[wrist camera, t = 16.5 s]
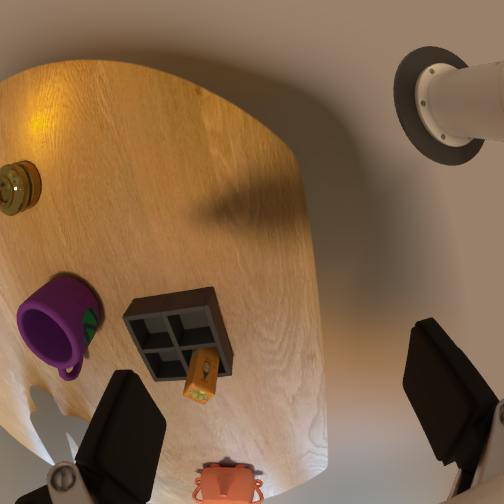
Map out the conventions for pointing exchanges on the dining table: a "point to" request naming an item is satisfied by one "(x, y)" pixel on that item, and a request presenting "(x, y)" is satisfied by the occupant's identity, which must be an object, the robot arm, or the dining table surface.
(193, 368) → the supplement box
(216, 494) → the teapot
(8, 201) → the brass knobbed weight
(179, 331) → the rack
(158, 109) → the dining table surface
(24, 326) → the mug
